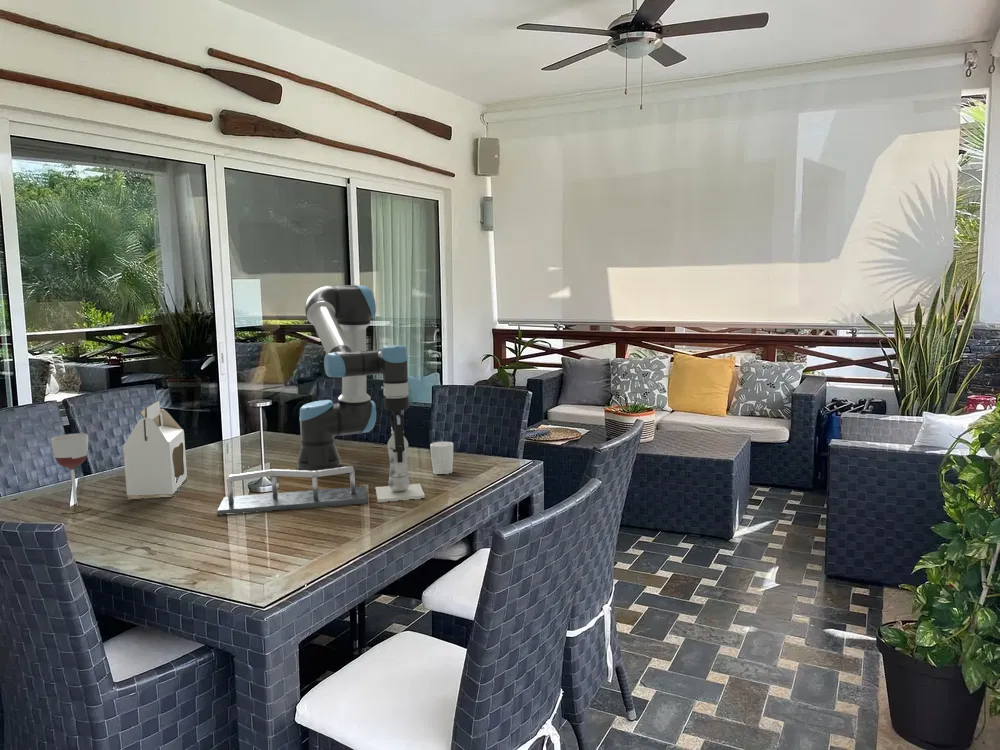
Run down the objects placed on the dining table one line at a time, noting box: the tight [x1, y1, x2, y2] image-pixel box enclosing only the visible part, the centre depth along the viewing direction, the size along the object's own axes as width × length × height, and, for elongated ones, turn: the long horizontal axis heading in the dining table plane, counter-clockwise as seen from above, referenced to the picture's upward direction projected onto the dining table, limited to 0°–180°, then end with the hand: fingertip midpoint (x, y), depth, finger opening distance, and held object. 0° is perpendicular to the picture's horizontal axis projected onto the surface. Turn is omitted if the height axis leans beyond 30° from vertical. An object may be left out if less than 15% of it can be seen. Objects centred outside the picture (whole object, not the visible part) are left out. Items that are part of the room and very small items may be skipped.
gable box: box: [122, 400, 188, 496], centre depth 236 cm, size 22×13×28 cm, turn 12°
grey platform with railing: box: [216, 465, 369, 514], centre depth 219 cm, size 14×42×10 cm, turn 103°
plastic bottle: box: [386, 426, 411, 492], centre depth 225 cm, size 6×7×20 cm
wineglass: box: [51, 432, 89, 505], centre depth 216 cm, size 9×10×22 cm
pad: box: [375, 483, 426, 503], centre depth 226 cm, size 14×14×1 cm
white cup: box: [429, 441, 454, 475], centre depth 252 cm, size 8×8×10 cm
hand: (398, 468), depth 225 cm, fingers open, 9 cm apart
